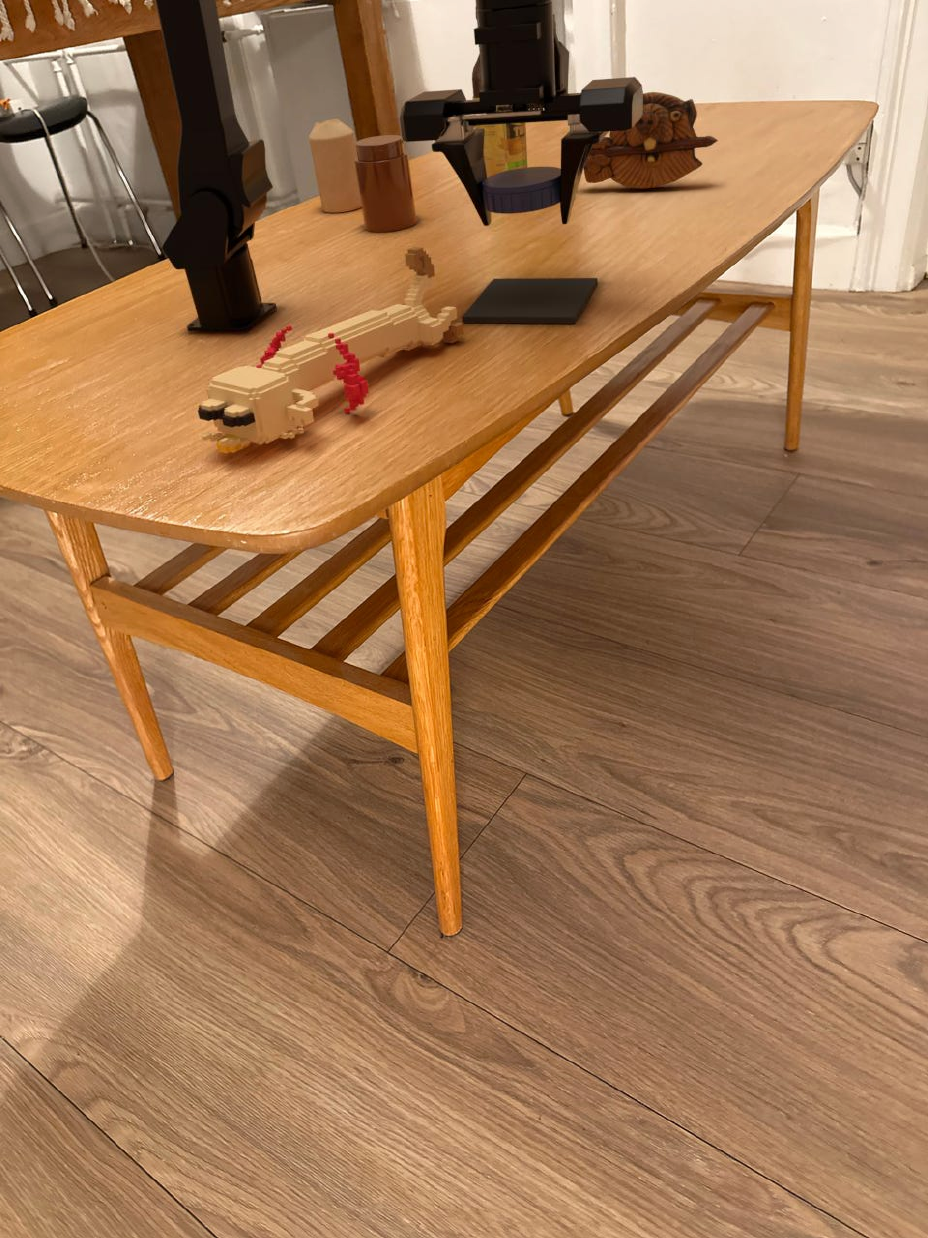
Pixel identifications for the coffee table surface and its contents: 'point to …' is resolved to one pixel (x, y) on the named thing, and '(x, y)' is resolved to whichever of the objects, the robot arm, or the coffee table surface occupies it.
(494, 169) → the sauce bottle
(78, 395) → the coffee table surface
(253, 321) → the robot arm
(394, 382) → the coffee table surface
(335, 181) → the candle
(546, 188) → the lid
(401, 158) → the jar
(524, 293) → the mat
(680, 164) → the wooden carving
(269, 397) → the voxel animal figurine
